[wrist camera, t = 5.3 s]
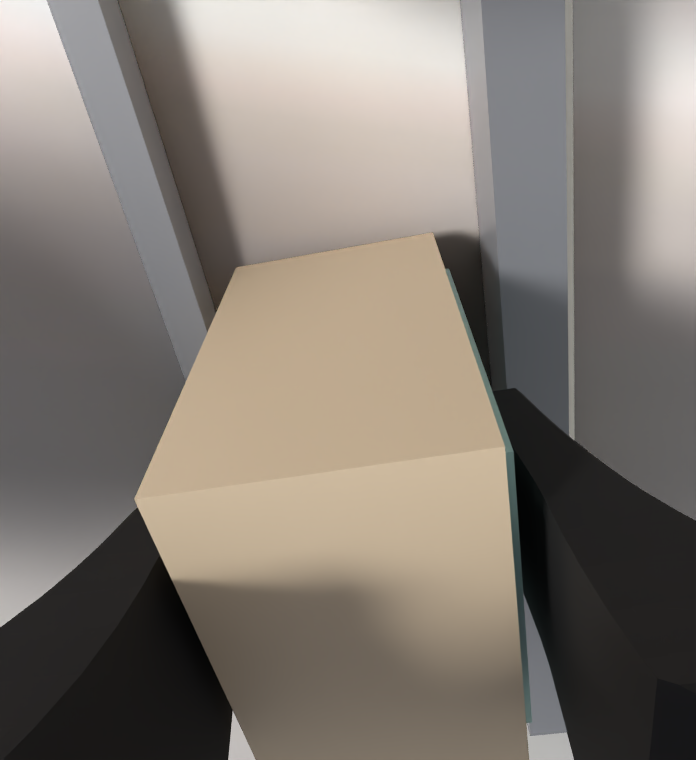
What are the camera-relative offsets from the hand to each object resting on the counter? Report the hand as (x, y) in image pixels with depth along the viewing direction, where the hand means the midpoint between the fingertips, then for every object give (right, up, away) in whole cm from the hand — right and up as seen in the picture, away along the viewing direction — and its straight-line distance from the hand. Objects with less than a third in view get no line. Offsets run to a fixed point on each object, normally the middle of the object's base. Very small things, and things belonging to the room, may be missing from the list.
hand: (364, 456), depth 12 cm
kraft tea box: (0, +1, +3) cm, 3 cm away
